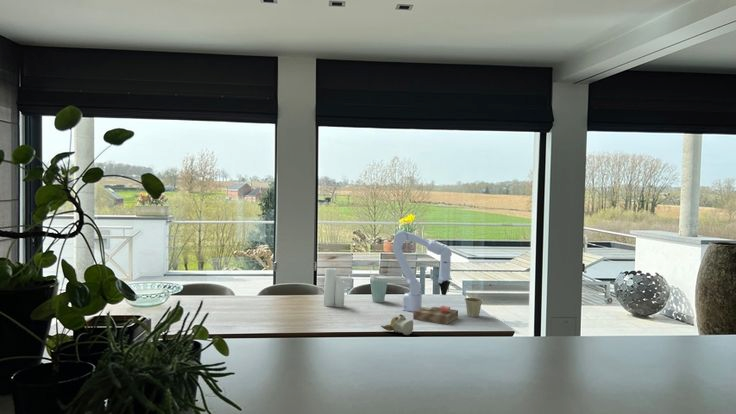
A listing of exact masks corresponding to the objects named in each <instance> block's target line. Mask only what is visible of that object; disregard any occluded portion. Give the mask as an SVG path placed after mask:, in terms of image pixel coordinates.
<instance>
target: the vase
mask: <svg viewBox="0 0 736 414" xmlns="http://www.w3.org/2000/svg"><path fill="white" fill-rule="evenodd" d="M337 274H338V269H337V268H335V267H326V268H324V287H323V289H324V290H323V306H325V307H337V308H343V307H345V294H346V293H345V292H346V291H345V289H346V287H345V286H346V281H345V280H342V277H341V276H339V275H337Z"/></svg>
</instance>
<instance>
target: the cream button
mask: <svg viewBox="0 0 736 414" xmlns="http://www.w3.org/2000/svg"><path fill="white" fill-rule="evenodd" d="M421 307H422V309H425V310H432V309H433V308H434V307H435V306H432V305H423V306H421Z"/></svg>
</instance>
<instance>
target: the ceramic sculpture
mask: <svg viewBox="0 0 736 414" xmlns="http://www.w3.org/2000/svg"><path fill="white" fill-rule="evenodd" d="M380 327H381V328H383V330H385V331H388V332H392V331H393V332H395V333H397V332H398V333H397V334H400V333H401V334H403V335H405V336H409V335H410V334H412V332H413V331H414V319H410V320H408V319H407V318H406V316H405V315H403V314H399V315H398V316H394V317H392V318H391V320H390V324H385V325H380Z"/></svg>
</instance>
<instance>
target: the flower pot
mask: <svg viewBox="0 0 736 414" xmlns="http://www.w3.org/2000/svg"><path fill="white" fill-rule="evenodd" d="M464 301H465V304H466V305H465V306H466V315H467V316H468V317H472V318H477V317H480V311H481V308H482V307H481V306H482V304H483V301H484V300H483V299H481V298H479V297H477V298H476V297H466V298H464Z"/></svg>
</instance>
